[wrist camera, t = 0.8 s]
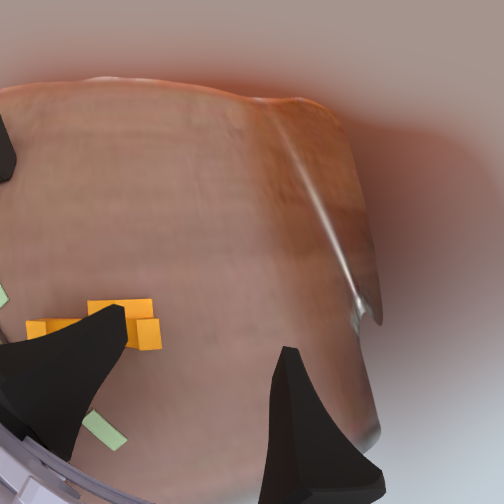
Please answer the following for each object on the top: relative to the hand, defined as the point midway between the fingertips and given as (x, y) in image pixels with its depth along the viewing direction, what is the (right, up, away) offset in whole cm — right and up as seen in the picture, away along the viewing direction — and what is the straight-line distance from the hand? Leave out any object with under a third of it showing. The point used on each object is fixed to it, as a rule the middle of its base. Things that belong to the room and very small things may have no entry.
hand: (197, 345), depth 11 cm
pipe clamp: (-14, -3, +13) cm, 19 cm away
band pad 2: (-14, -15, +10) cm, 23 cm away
